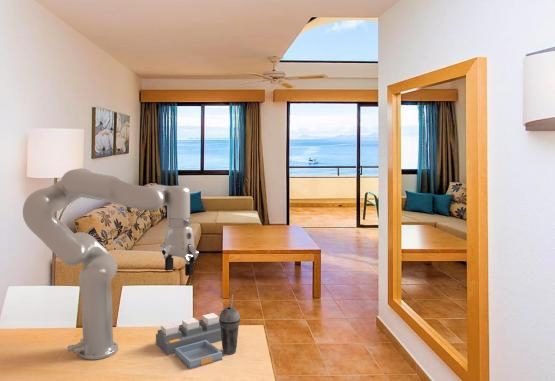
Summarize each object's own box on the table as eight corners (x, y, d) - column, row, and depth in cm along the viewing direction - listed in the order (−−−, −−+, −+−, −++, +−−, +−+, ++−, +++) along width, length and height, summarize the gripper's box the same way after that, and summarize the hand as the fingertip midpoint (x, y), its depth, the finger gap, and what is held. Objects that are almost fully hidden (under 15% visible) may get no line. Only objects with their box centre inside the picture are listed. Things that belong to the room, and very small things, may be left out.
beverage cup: (214, 351, 160) (214, 295, 158) (230, 344, 165) (230, 290, 163) (228, 358, 155) (228, 300, 153) (244, 351, 160) (244, 295, 158)
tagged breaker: (166, 336, 159) (165, 329, 158) (161, 331, 162) (160, 325, 162) (178, 333, 161) (178, 326, 161) (172, 328, 165) (172, 322, 165)
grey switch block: (167, 355, 157) (166, 332, 156) (155, 344, 165) (155, 323, 164) (224, 339, 170) (224, 318, 169) (211, 330, 178) (211, 310, 177)
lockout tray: (190, 369, 148) (190, 362, 147) (174, 355, 157) (174, 348, 157) (222, 359, 154) (222, 352, 154) (205, 346, 164) (205, 339, 163)
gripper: (205, 224, 155) (205, 274, 157) (169, 218, 165) (170, 265, 166) (188, 227, 149) (189, 279, 150) (152, 221, 158) (153, 270, 160)
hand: (179, 272), depth 158 cm, fingers open, 9 cm apart
